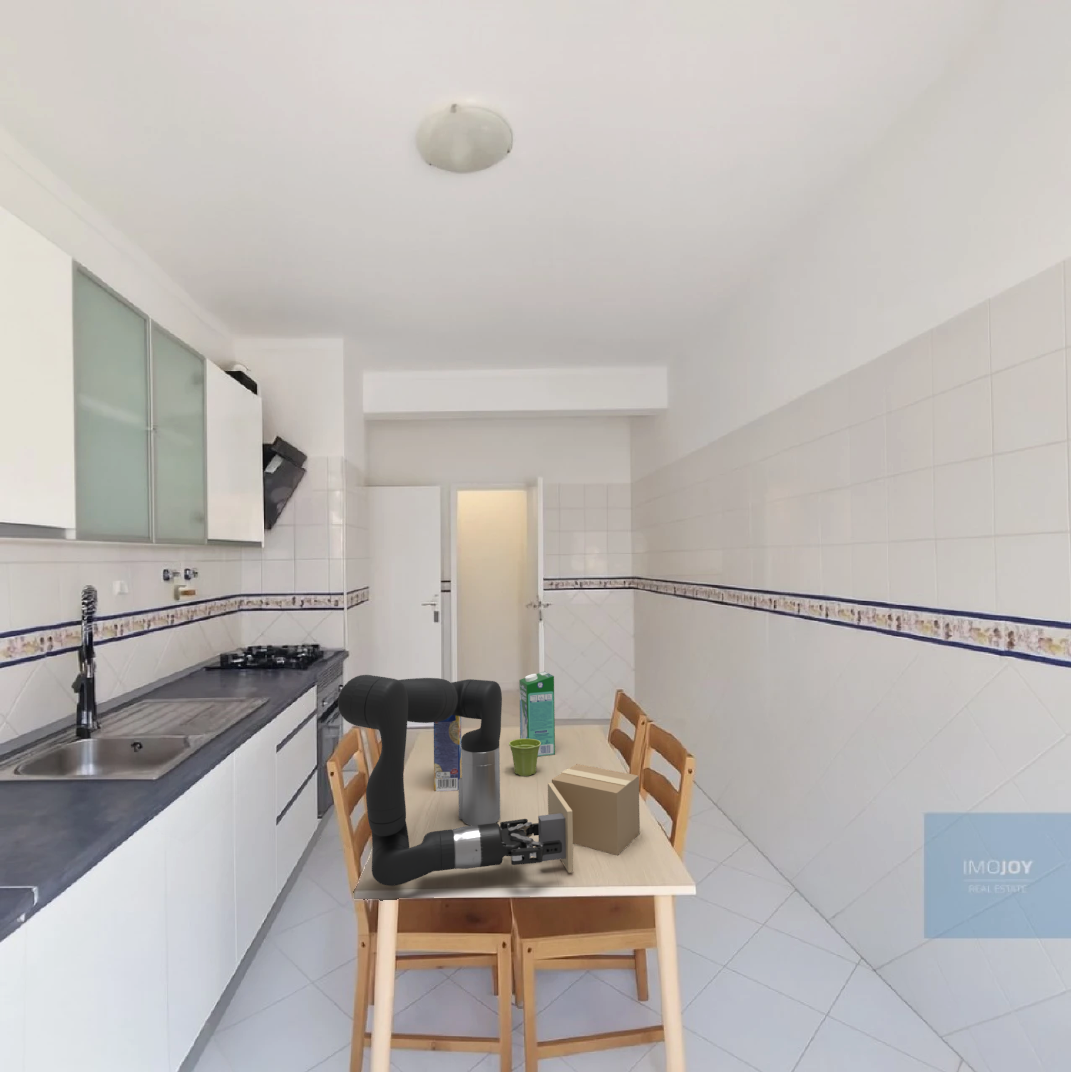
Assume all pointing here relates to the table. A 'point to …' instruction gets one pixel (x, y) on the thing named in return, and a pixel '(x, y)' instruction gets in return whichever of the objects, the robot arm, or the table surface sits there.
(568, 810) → the front flap
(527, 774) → the plant pot
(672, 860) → the table surface
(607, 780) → the carton
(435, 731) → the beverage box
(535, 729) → the milk carton
